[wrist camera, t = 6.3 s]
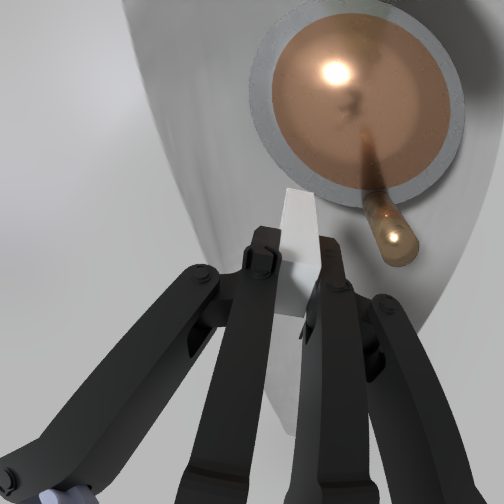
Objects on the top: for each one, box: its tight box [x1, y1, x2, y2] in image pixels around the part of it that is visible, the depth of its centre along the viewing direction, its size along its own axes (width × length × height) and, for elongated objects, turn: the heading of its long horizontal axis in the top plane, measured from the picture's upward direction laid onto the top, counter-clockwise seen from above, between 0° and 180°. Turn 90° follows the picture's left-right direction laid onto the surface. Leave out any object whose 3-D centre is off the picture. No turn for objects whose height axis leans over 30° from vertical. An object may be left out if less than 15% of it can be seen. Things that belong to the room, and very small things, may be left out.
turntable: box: [249, 0, 465, 267], centre depth 13 cm, size 17×16×8 cm
